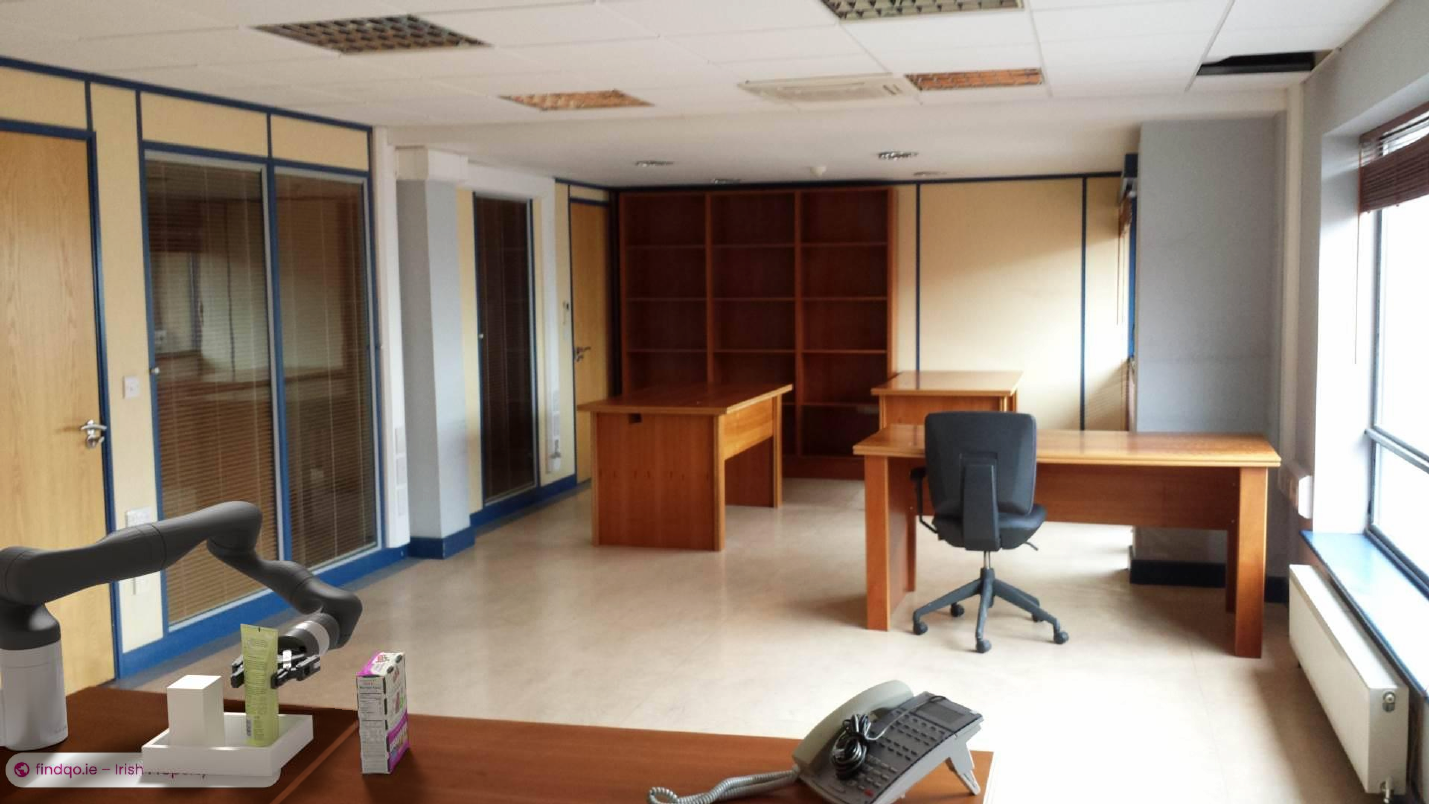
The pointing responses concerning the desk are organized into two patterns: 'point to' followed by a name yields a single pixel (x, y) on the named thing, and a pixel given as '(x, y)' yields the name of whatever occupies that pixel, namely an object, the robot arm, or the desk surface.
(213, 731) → the carton
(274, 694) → the tube
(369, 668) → the candy bar box
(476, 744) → the desk surface
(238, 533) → the robot arm
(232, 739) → the tote
